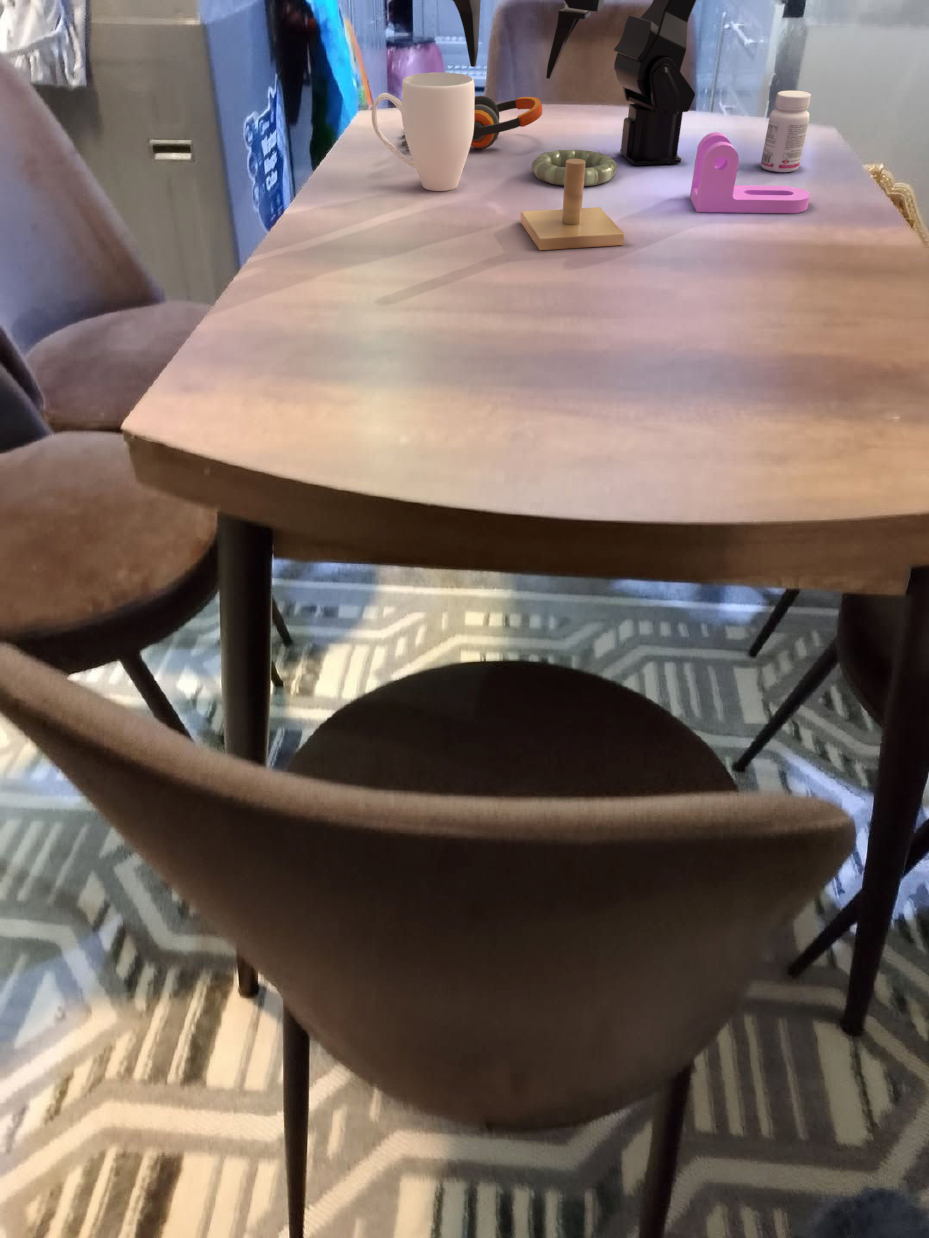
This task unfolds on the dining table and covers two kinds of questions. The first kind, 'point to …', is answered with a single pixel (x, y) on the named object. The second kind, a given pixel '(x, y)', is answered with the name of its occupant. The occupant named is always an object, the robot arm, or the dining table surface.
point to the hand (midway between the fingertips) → (510, 72)
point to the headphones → (489, 118)
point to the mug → (434, 125)
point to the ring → (554, 162)
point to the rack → (572, 219)
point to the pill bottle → (786, 132)
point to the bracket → (722, 195)
